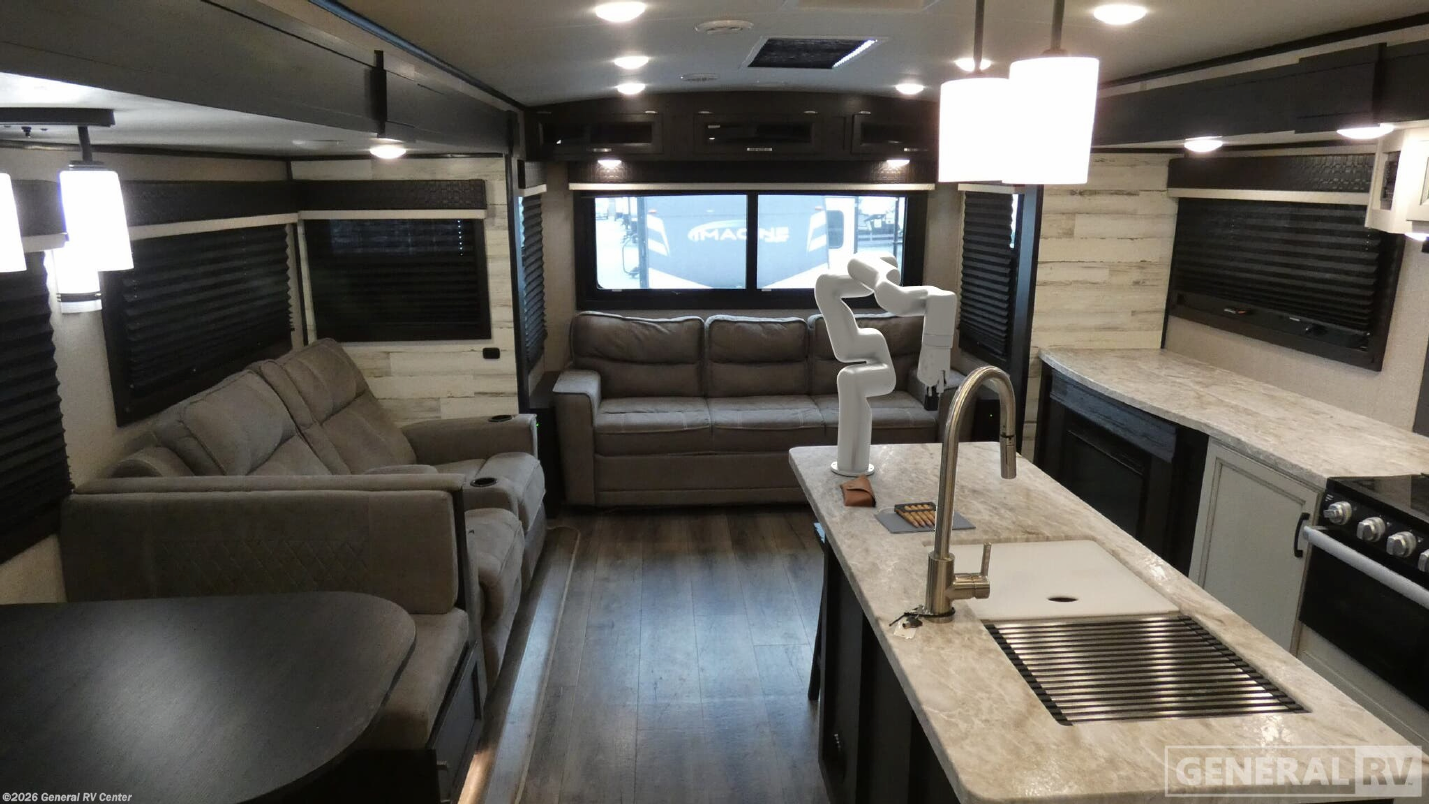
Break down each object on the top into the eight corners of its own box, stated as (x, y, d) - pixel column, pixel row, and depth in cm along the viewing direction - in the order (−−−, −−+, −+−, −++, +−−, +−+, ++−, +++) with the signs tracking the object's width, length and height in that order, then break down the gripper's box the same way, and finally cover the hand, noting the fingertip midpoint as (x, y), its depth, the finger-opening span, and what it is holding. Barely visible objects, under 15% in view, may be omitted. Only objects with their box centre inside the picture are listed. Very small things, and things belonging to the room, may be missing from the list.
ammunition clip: (932, 501, 232) (955, 520, 221) (932, 508, 232) (954, 527, 221) (894, 504, 229) (915, 523, 218) (893, 511, 230) (914, 530, 219)
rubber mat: (873, 515, 228) (873, 514, 228) (954, 511, 232) (954, 509, 232) (891, 533, 217) (891, 532, 217) (975, 528, 221) (975, 526, 221)
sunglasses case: (837, 483, 251) (850, 464, 250) (858, 496, 252) (871, 477, 251) (844, 507, 234) (858, 486, 232) (866, 520, 235) (881, 500, 233)
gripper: (912, 334, 232) (906, 402, 237) (934, 346, 218) (927, 418, 223) (940, 334, 233) (933, 402, 238) (963, 346, 219) (956, 418, 224)
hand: (930, 409), depth 230 cm, fingers closed
